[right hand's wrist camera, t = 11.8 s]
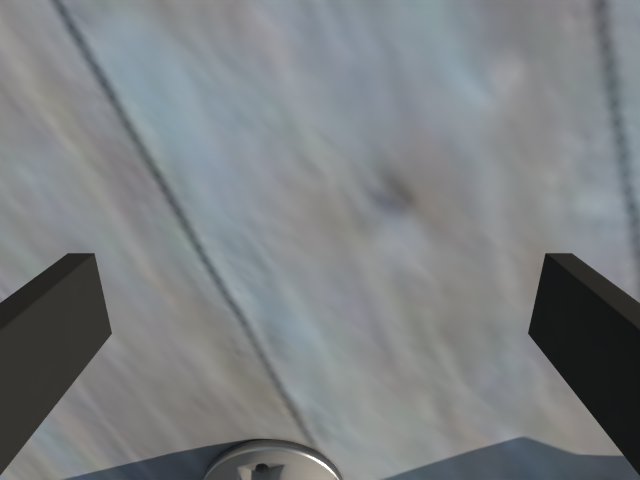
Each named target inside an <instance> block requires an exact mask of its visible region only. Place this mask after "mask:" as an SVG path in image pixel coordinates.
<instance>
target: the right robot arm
mask: <svg viewBox="0 0 640 480" xmlns="http://www.w3.org/2000/svg"><path fill="white" fill-rule="evenodd" d="M111 334H112V332H111V327H110V323H109V318H108V313H107V309H106V304H105V300H104V295H103V290H102V286H101V281H100V277H99V272H98V267H97V263H96V258H95V254H94V253H68V254H67V255H65V256H64V257H63V258H61V259H60V260H58V261H57V262H56V263H54V264H53V265H52V266H50V267H49V268H48V269H46V270H45V271H43V272H42V273H41V274H39V275H38V276H37V277H35V278H34V279H33V280H31V281H30V282H28V283H27V284H26V285H24V286H23V287H22V288H20V289H19V290H18V291H16V292H15V293H13V294H12V295H11V296H9V297H8V298H7V299H5V300H4V301H3V302H1V303H0V475H1V474H2V473H3V471H4V470H5V469H6V467H7V466H8V465H9V464H10V462H11V461H12V460H13V459H14V457H15V456H16V455H17V453H18V452H19V451H20V450H21V448H22V447H23V446H24V445H25V443H26V442H27V441H28V439H29V438H30V437H31V436H32V434H33V433H34V432H35V431H36V429H37V428H38V427H39V425H40V424H41V423H42V422H43V420H44V419H45V418H46V417H47V415H48V414H49V413H50V411H51V410H52V409H53V408H54V406H55V405H56V404H57V403H58V401H59V400H60V399H61V397H62V396H63V395H64V394H65V392H66V391H67V390H68V389H69V387H70V386H71V385H72V384H73V382H74V381H75V380H76V378H77V377H78V376H79V375H80V373H81V372H82V371H83V370H84V368H85V367H86V366H87V364H88V363H89V362H90V361H91V359H92V358H93V357H94V356H95V354H96V353H97V352H98V350H99V349H100V348H101V347H102V345H103V344H104V343H105V342H106V340H107V339H108V338H109V336H110V335H111ZM528 334H529V335H530V336H531V338H532V339H533V340H534V342H535V343H536V344H537V345H538V347H539V348H540V349H541V350H542V352H543V353H544V354H545V356H546V357H547V358H548V359H549V361H550V362H551V363H552V364H553V366H554V367H555V368H556V370H557V371H558V372H559V373H560V375H561V376H562V377H563V378H564V380H565V381H566V382H567V384H568V385H569V386H570V387H571V389H572V390H573V391H574V392H575V394H576V395H577V396H578V398H579V399H580V400H581V401H582V403H583V404H584V405H585V406H586V408H587V409H588V410H589V411H590V413H591V414H592V415H593V417H594V418H595V419H596V420H597V422H598V423H599V424H600V425H601V427H602V428H603V429H604V431H605V432H606V433H607V434H608V436H609V437H610V438H611V439H612V441H613V442H614V443H615V445H616V446H617V447H618V448H619V450H620V451H621V452H622V453H623V455H624V456H625V457H626V459H627V460H628V461H629V462H630V464H631V465H632V466H633V467H634V469H635V470H636V471H637V473H638V474H639V475H640V303H639V302H637V301H636V300H635V299H633V298H632V297H631V296H629V295H628V294H627V293H625V292H624V291H622V290H621V289H620V288H618V287H617V286H616V285H614V284H613V283H612V282H610V281H609V280H607V279H606V278H605V277H603V276H602V275H601V274H599V273H598V272H597V271H595V270H594V269H592V268H591V267H590V266H588V265H587V264H586V263H584V262H583V261H582V260H580V259H579V258H577V257H576V256H575V255H573V254H572V253H546V254H545V258H544V263H543V267H542V272H541V277H540V281H539V286H538V290H537V295H536V300H535V304H534V309H533V313H532V318H531V323H530V327H529V332H528ZM203 480H343V479H342V477H341V475H340V473H339V471H338V470H337V468H336V467H335V466H334V464H333V463H332V462H331V461H330V460H328V459H327V458H326V457H325V456H323V455H322V454H320V453H319V452H317V451H315V450H313V449H311V448H309V447H307V446H304V445H301V444H298V443H294V442H289V441H283V440H256V441H250V442H246V443H242V444H239V445H236V446H234V447H232V448H230V449H228V450H226V451H224V452H223V453H221V454H220V455H219V456H218V457H216V458H215V459H214V460H213V462H212V463H211V464H210V465H209V467H208V468H207V470H206V472H205V475H204V478H203Z"/></svg>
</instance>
